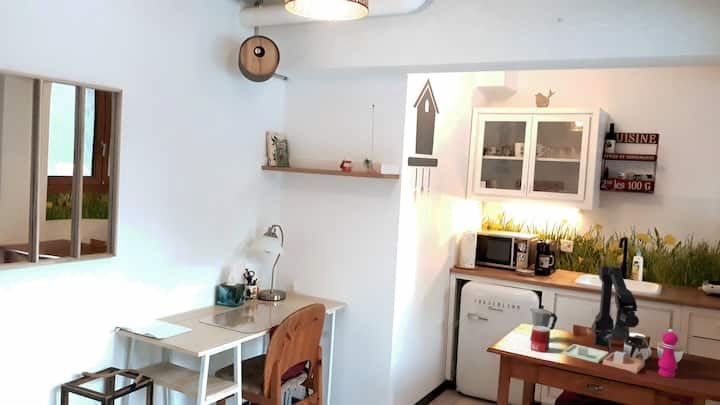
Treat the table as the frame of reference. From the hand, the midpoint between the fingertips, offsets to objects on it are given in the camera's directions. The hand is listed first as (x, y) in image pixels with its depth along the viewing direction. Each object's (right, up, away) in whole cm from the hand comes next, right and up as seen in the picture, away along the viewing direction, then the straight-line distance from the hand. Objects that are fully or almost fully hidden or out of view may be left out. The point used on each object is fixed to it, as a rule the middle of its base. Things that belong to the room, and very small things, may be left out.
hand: (619, 355), depth 268 cm
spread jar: (+11, -4, +7) cm, 14 cm away
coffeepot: (-27, 0, +26) cm, 38 cm away
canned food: (-33, -1, +11) cm, 35 cm away
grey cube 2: (-15, -2, +5) cm, 16 cm away
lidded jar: (+25, -5, +5) cm, 26 cm away
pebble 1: (0, -3, 0) cm, 3 cm away
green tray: (-12, -2, +8) cm, 15 cm away
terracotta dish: (0, -4, -3) cm, 5 cm away
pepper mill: (+15, -6, -12) cm, 20 cm away
